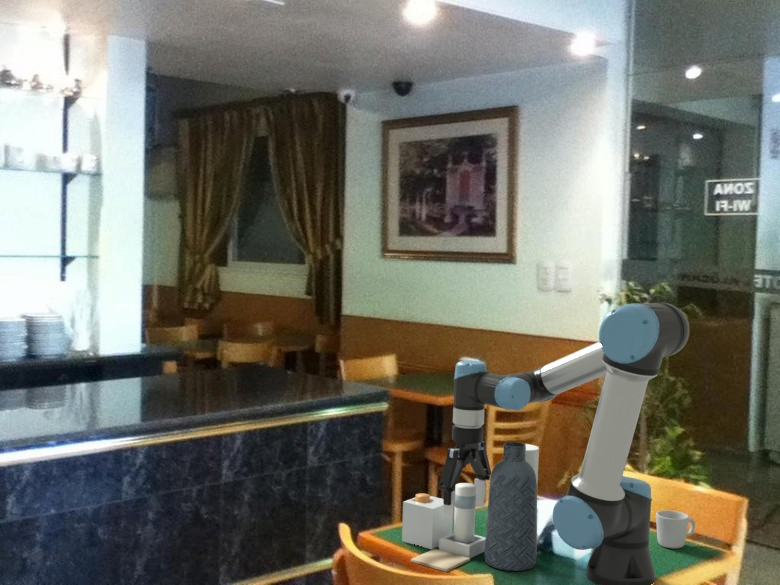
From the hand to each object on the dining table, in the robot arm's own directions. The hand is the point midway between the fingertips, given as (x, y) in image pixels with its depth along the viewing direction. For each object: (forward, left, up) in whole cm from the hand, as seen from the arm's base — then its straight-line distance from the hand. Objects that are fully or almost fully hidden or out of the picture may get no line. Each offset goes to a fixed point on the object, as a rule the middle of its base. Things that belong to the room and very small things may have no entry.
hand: (463, 511), depth 231 cm
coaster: (0, +10, -10) cm, 14 cm away
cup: (-38, -40, -10) cm, 56 cm away
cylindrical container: (-9, -12, -10) cm, 18 cm away
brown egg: (+12, 0, -4) cm, 13 cm away
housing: (+5, 0, -10) cm, 11 cm away
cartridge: (0, 0, -10) cm, 10 cm away
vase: (-13, 0, -10) cm, 16 cm away
